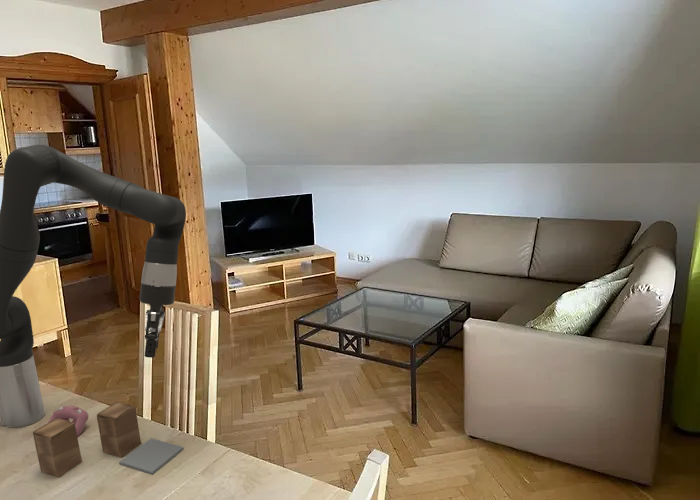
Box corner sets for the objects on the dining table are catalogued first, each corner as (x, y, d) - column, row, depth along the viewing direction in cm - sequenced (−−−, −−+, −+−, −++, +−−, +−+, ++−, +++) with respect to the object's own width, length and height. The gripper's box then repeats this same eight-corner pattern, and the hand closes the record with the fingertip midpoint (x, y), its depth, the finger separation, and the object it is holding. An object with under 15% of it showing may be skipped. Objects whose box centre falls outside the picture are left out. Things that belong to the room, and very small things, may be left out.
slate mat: (119, 464, 125) (118, 461, 125) (151, 440, 134) (151, 438, 134) (152, 474, 121) (152, 472, 121) (183, 449, 130) (183, 447, 130)
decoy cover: (40, 471, 124) (32, 431, 122) (64, 456, 129) (56, 418, 127) (59, 477, 122) (50, 437, 119) (82, 461, 127) (74, 423, 124)
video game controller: (88, 436, 140) (92, 407, 141) (75, 438, 136) (80, 408, 137) (56, 431, 143) (61, 404, 144) (42, 433, 138) (47, 404, 140)
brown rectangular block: (103, 452, 130) (96, 414, 128) (122, 438, 135) (116, 401, 133) (121, 457, 128) (115, 419, 125) (141, 443, 133) (135, 406, 130)
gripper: (144, 278, 132) (137, 345, 132) (138, 284, 118) (130, 359, 118) (176, 280, 134) (169, 346, 134) (174, 287, 120) (166, 361, 120)
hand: (151, 352), depth 126 cm, fingers open, 8 cm apart
